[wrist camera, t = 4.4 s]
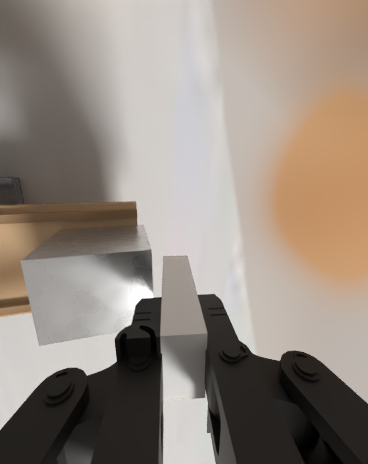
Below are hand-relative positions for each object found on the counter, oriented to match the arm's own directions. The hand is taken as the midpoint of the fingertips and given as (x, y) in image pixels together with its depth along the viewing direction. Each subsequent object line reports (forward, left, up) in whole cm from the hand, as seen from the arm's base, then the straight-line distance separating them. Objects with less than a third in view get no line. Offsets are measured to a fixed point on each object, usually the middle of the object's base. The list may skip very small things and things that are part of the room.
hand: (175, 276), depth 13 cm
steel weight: (0, -5, -4) cm, 7 cm away
